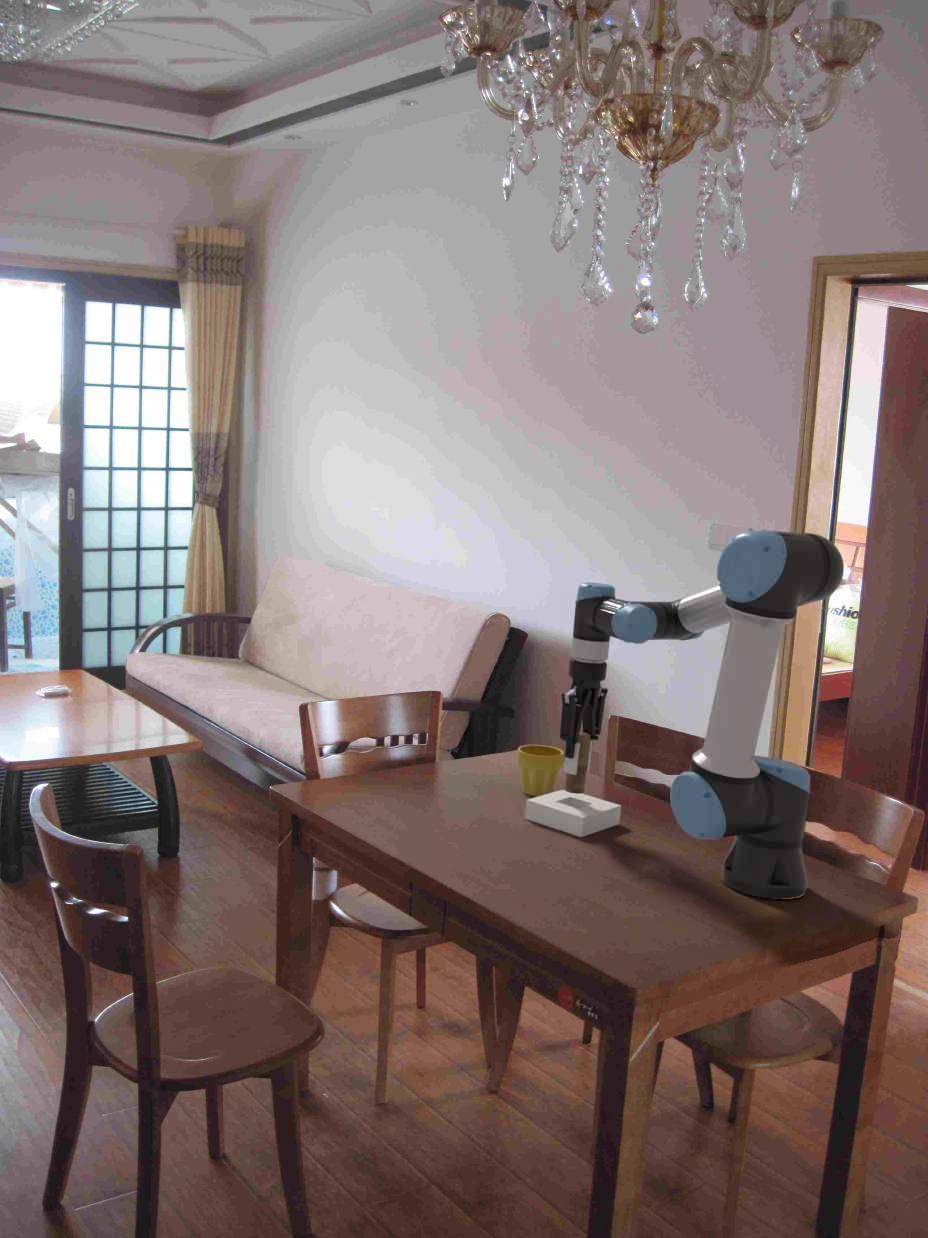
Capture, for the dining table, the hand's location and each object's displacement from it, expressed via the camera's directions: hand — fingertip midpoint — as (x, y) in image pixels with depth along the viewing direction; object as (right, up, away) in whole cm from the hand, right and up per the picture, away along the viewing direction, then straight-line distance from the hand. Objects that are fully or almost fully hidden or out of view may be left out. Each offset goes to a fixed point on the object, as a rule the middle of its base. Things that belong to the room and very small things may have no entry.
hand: (576, 771), depth 236 cm
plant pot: (-7, -8, +20) cm, 22 cm away
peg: (0, -4, +1) cm, 4 cm away
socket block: (-1, -11, +1) cm, 11 cm away
